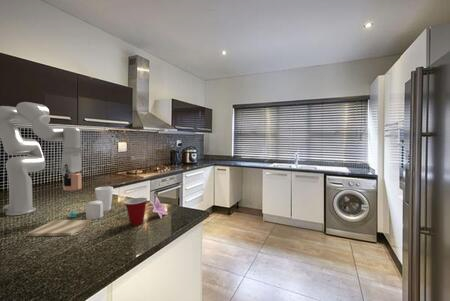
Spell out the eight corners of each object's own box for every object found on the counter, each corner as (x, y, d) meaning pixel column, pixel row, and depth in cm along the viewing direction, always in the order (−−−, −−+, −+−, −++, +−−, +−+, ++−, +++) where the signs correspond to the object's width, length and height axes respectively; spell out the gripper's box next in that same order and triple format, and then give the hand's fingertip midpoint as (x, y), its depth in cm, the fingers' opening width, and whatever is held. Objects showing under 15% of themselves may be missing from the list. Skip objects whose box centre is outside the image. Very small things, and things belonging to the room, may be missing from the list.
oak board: (26, 236, 92) (26, 233, 92) (53, 222, 108) (53, 220, 108) (71, 235, 94) (71, 232, 93) (91, 221, 109) (91, 219, 109)
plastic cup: (128, 219, 113) (128, 196, 113) (150, 219, 114) (150, 196, 114) (120, 227, 102) (120, 202, 102) (144, 227, 103) (144, 202, 103)
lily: (149, 223, 111) (158, 207, 111) (138, 210, 118) (147, 195, 118) (166, 223, 121) (175, 209, 120) (155, 211, 128) (163, 197, 127)
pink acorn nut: (60, 190, 111) (60, 174, 111) (69, 187, 118) (69, 172, 118) (75, 190, 112) (75, 174, 111) (83, 187, 119) (83, 172, 119)
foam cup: (105, 212, 124) (105, 190, 123) (91, 211, 125) (91, 189, 125) (116, 207, 133) (116, 186, 132) (103, 206, 135) (103, 186, 134)
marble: (68, 218, 114) (67, 212, 114) (71, 216, 117) (71, 210, 117) (74, 218, 114) (74, 212, 114) (78, 216, 117) (78, 210, 117)
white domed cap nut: (83, 219, 112) (83, 204, 112) (91, 214, 120) (91, 200, 119) (98, 219, 113) (98, 204, 113) (105, 214, 120) (104, 200, 120)
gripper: (74, 150, 123) (75, 181, 123) (52, 151, 105) (53, 188, 106) (88, 150, 123) (89, 181, 124) (68, 151, 106) (69, 187, 107)
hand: (72, 184), depth 115 cm, fingers closed on pink acorn nut, 7 cm apart
